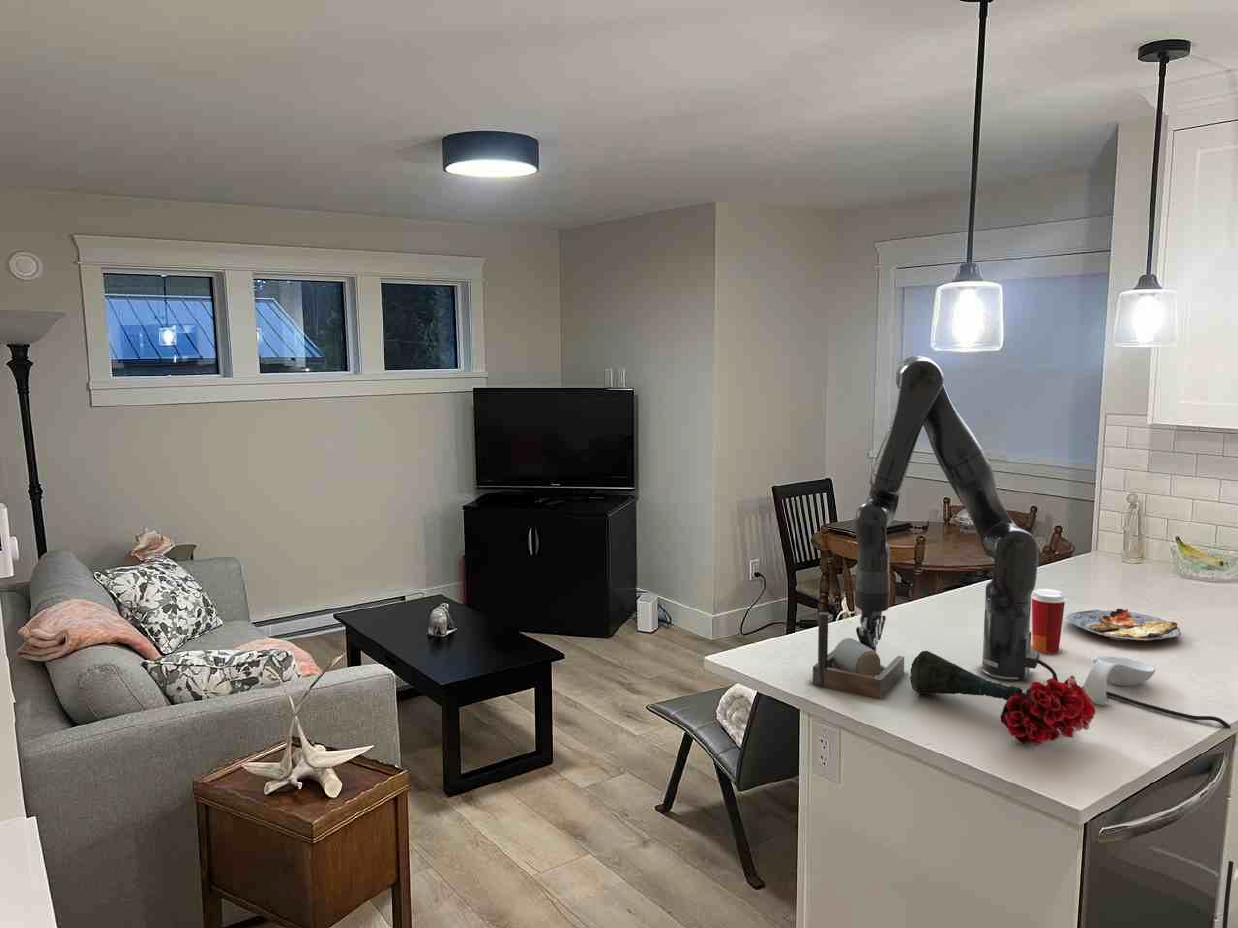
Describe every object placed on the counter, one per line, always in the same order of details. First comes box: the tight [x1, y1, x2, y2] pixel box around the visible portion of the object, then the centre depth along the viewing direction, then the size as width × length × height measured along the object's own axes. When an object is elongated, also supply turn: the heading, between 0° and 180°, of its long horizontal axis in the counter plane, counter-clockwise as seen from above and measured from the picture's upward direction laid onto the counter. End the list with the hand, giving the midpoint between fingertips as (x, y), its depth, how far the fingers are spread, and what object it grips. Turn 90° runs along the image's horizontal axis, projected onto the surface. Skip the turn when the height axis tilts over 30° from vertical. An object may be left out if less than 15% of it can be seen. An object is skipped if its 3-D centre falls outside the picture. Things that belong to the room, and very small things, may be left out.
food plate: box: [1065, 608, 1182, 642], centre depth 226 cm, size 25×23×4 cm
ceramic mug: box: [833, 637, 886, 677], centre depth 199 cm, size 11×8×8 cm
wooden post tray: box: [812, 611, 905, 699], centre depth 196 cm, size 15×17×16 cm
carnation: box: [909, 650, 1097, 745], centre depth 174 cm, size 16×18×35 cm
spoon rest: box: [1083, 655, 1156, 706], centre depth 190 cm, size 24×12×7 cm, turn 135°
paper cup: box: [1031, 588, 1067, 655], centre depth 213 cm, size 8×8×14 cm
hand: (869, 660), depth 205 cm, fingers closed
